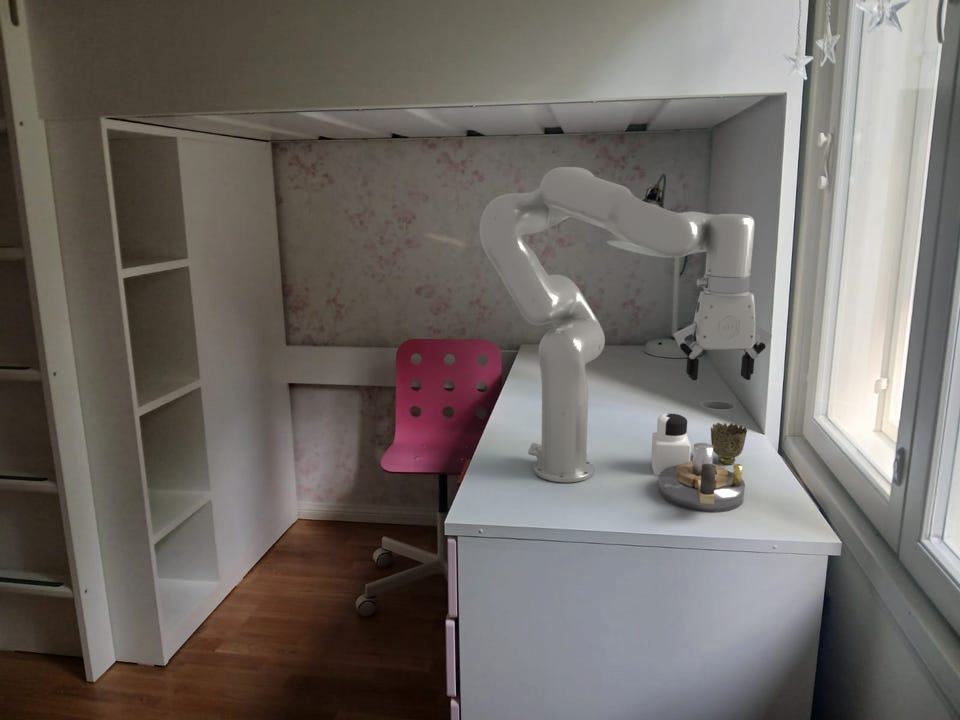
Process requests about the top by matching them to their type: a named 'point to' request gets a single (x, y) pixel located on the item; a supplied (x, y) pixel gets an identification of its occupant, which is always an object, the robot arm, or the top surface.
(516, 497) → the top surface
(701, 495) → the wrench
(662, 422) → the medicine bottle
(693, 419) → the top surface
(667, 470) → the post base
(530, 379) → the top surface
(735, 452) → the cup
